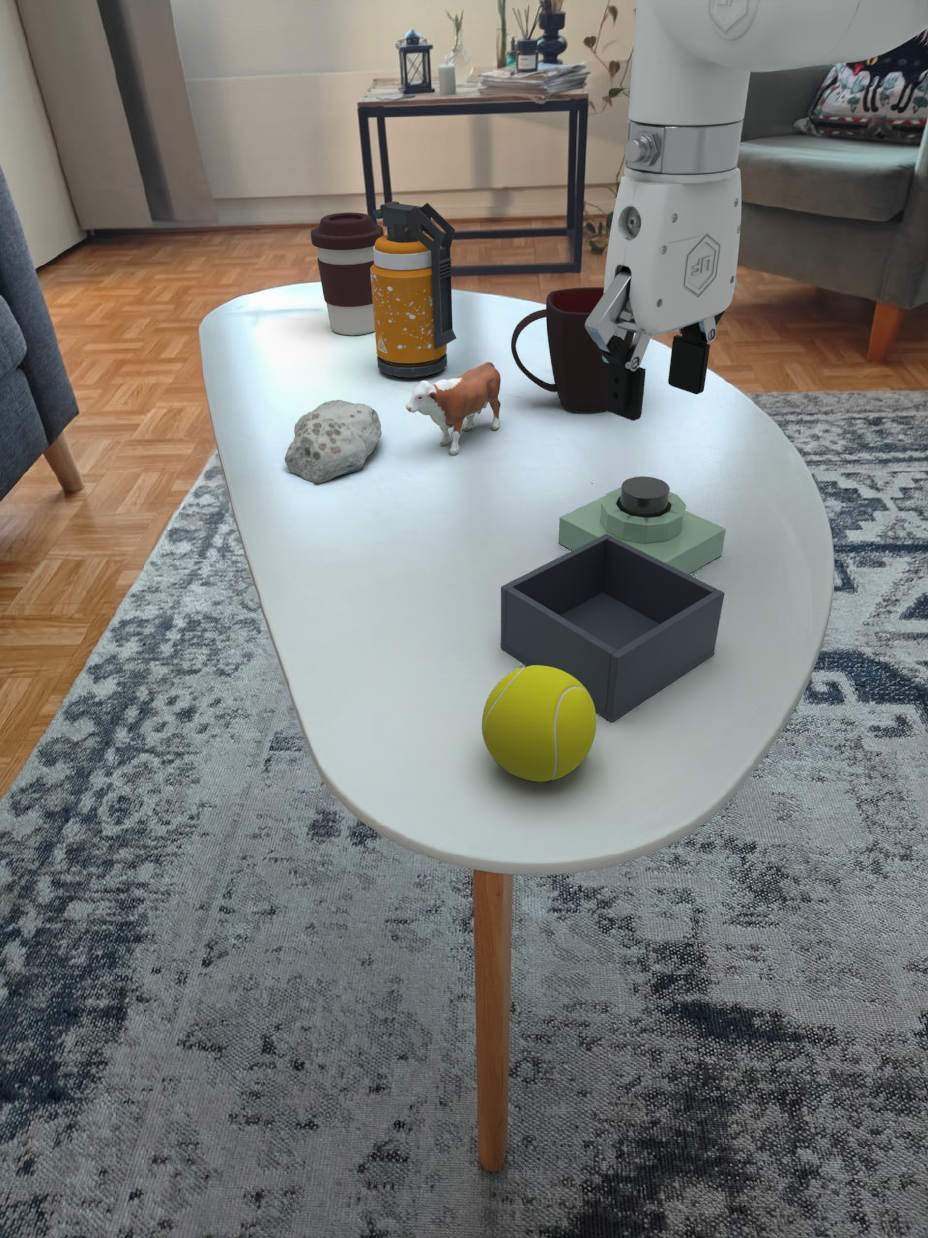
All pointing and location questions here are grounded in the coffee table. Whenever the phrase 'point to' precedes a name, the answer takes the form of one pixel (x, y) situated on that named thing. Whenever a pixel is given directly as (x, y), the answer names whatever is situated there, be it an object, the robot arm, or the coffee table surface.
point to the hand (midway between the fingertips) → (654, 399)
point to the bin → (611, 622)
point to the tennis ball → (539, 723)
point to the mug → (571, 349)
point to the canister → (412, 291)
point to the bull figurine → (458, 401)
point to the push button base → (647, 531)
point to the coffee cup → (347, 269)
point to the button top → (644, 497)
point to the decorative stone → (333, 440)
